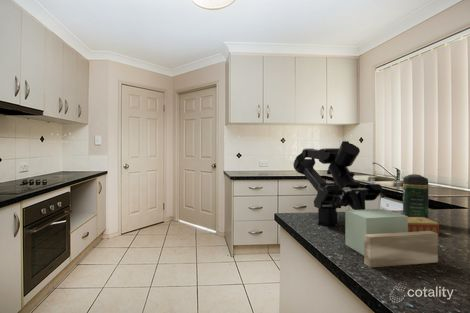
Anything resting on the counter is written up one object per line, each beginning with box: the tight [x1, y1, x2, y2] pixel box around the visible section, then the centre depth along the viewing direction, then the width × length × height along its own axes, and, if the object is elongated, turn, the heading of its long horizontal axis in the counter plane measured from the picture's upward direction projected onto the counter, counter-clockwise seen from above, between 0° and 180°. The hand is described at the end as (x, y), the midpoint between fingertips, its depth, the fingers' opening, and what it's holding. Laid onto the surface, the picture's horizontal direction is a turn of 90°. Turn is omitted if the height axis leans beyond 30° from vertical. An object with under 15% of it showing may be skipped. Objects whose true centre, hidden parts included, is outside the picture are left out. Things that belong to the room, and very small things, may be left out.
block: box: [344, 208, 408, 256], centre depth 68 cm, size 9×12×10 cm
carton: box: [408, 217, 440, 236], centre depth 86 cm, size 8×16×4 cm, turn 80°
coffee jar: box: [402, 173, 430, 219], centre depth 95 cm, size 10×8×19 cm
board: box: [363, 231, 439, 268], centre depth 59 cm, size 2×18×7 cm, turn 98°
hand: (363, 215), depth 73 cm, fingers closed
